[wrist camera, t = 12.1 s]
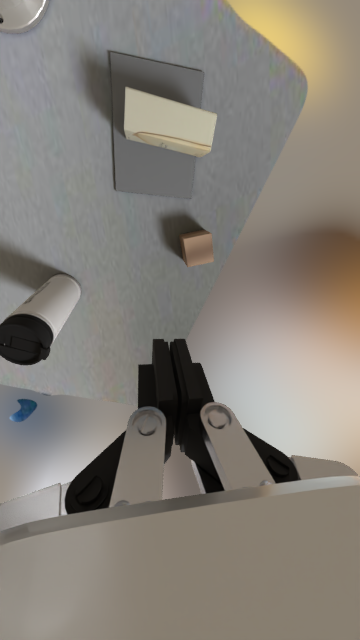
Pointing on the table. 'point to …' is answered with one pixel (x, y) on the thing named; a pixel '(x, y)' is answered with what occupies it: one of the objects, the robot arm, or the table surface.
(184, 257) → the walnut block
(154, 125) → the skincare box
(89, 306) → the table surface
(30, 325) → the travel mug
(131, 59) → the mat
